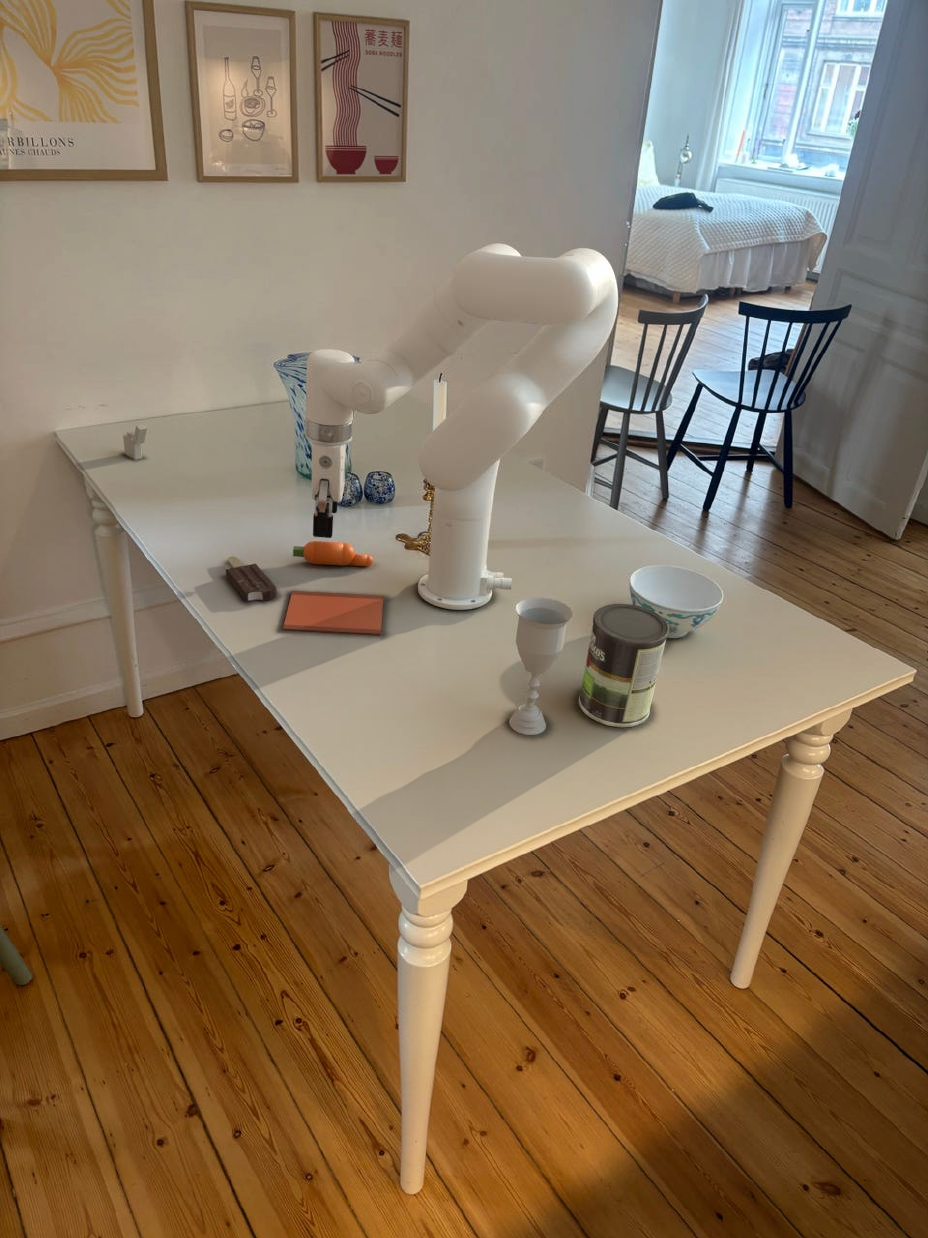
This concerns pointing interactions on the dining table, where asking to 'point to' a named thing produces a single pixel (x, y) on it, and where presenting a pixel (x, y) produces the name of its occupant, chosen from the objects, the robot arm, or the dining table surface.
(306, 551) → the carrot
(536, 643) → the chalice
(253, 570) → the ice cream bar
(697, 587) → the chinaware
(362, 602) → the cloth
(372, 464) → the dining table surface
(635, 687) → the coffee can
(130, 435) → the white jagged block
